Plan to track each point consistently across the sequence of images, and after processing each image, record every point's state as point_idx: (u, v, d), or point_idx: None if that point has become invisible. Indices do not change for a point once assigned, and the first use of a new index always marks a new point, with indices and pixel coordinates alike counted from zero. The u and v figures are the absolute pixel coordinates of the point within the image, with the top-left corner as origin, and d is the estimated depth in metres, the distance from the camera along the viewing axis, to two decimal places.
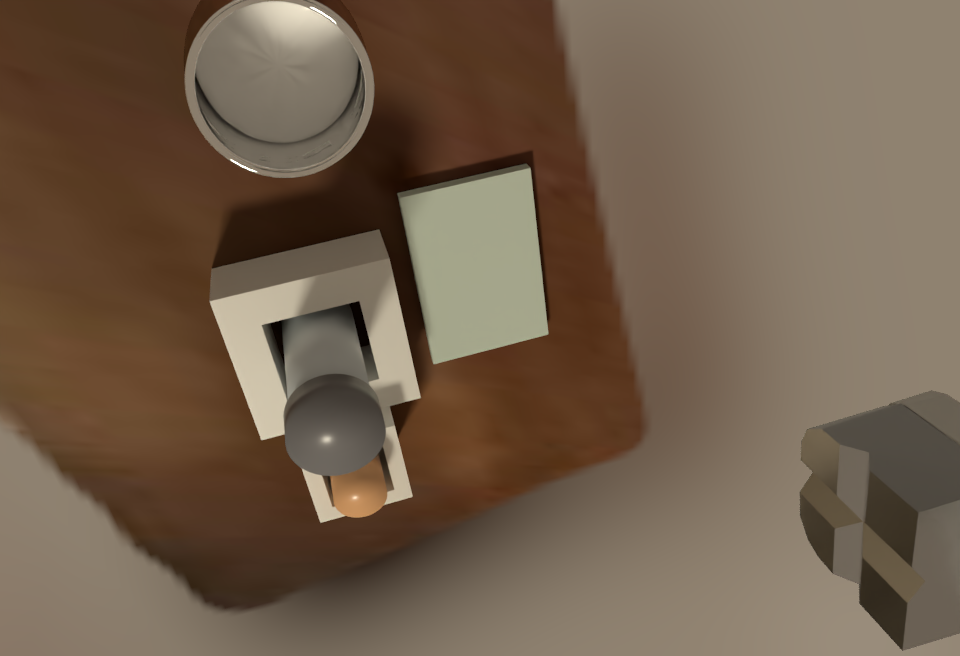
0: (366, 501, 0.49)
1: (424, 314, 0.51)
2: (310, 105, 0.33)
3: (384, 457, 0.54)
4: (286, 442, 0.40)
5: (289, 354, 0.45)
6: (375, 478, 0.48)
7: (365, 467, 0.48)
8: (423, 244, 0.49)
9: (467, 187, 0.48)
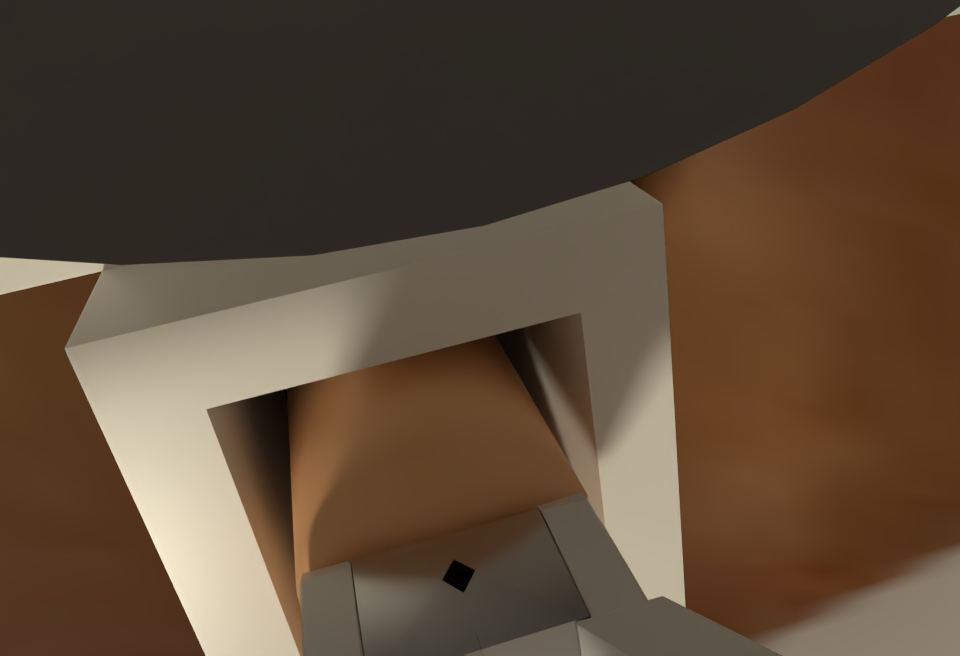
0: None
1: None
2: None
3: None
4: None
5: None
6: (542, 448, 0.08)
7: (476, 394, 0.09)
8: None
9: None
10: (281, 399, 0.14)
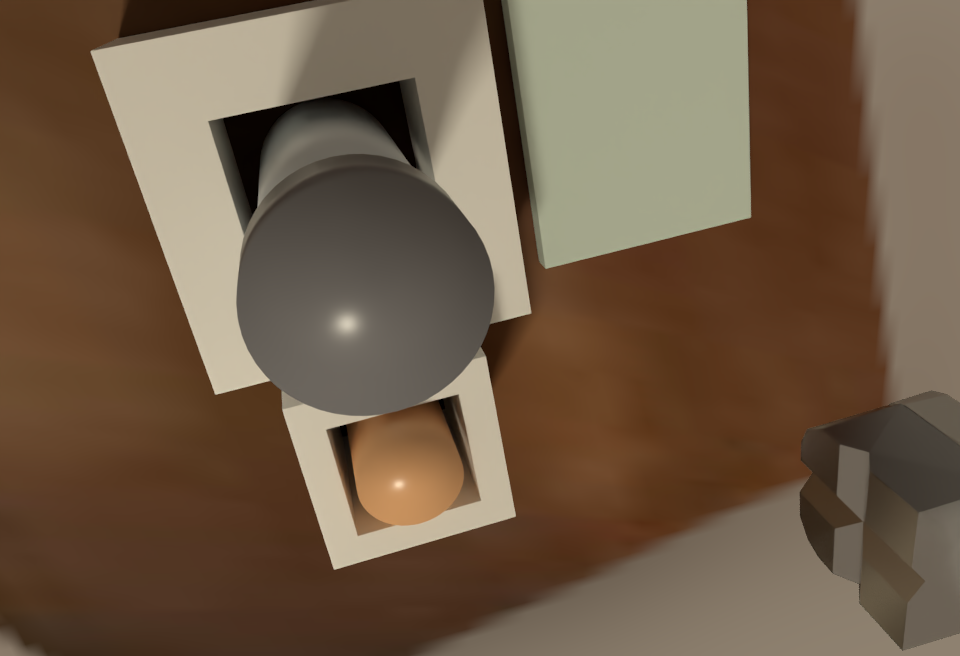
0: (422, 490, 0.24)
1: (532, 161, 0.27)
2: None
3: None
4: (239, 311, 0.15)
5: (266, 176, 0.21)
6: (441, 438, 0.24)
7: (420, 420, 0.24)
8: (535, 3, 0.25)
9: None
10: (338, 425, 0.30)
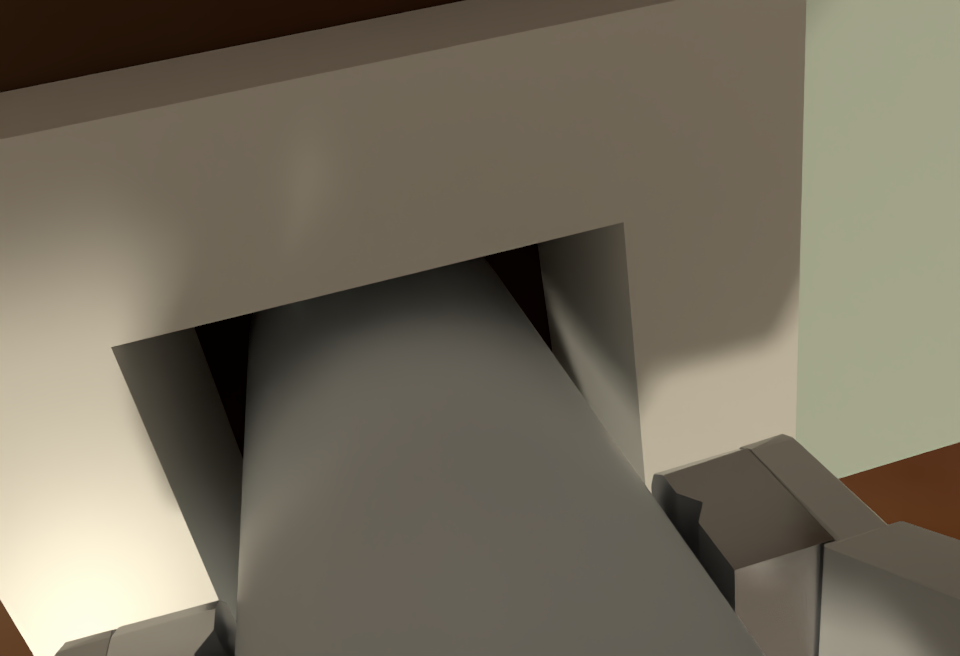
0: None
1: None
2: None
3: None
4: None
5: (259, 514, 0.08)
6: None
7: None
8: (822, 27, 0.12)
9: None
10: None
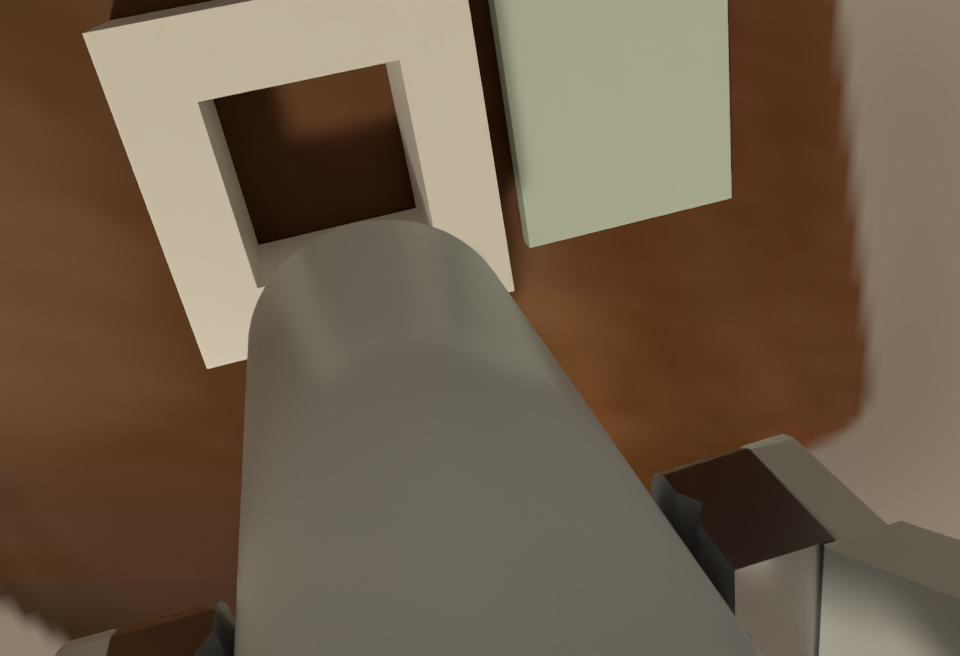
0: None
1: (516, 142, 0.28)
2: None
3: None
4: None
5: (259, 515, 0.08)
6: None
7: None
8: None
9: None
10: None
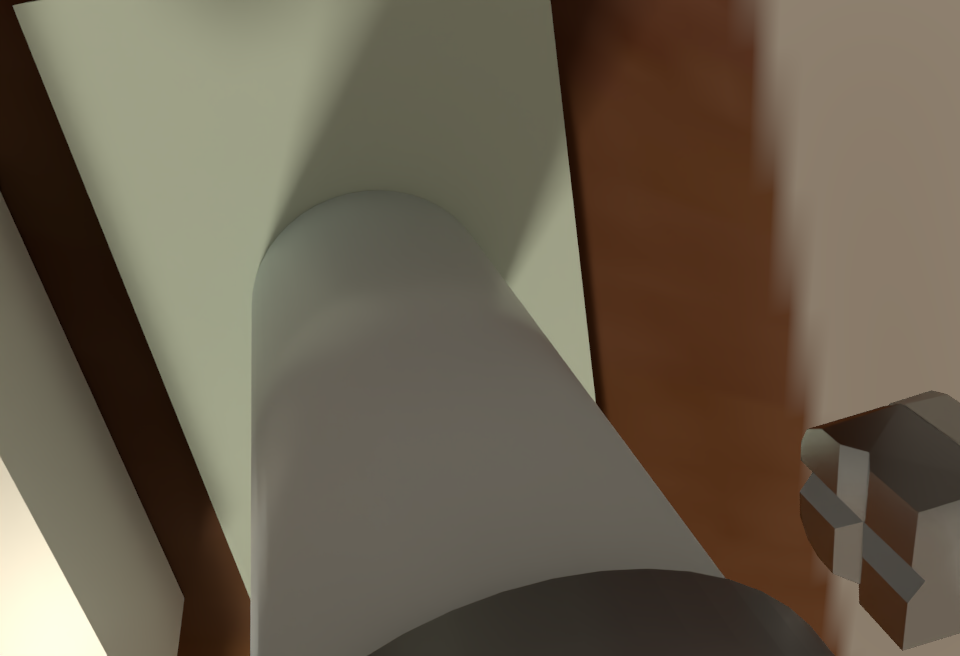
0: None
1: (196, 455, 0.15)
2: None
3: None
4: None
5: (270, 427, 0.09)
6: None
7: None
8: (151, 205, 0.13)
9: None
10: None
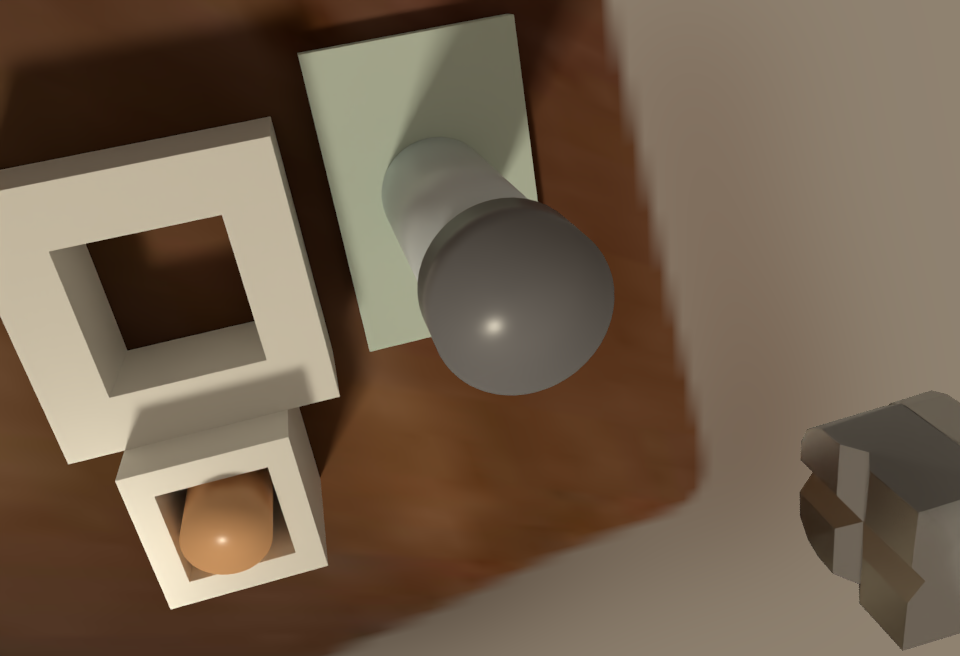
0: (237, 546, 0.29)
1: (350, 265, 0.32)
2: None
3: None
4: (432, 316, 0.21)
5: (412, 207, 0.26)
6: (250, 504, 0.29)
7: (236, 488, 0.29)
8: (342, 141, 0.30)
9: (411, 42, 0.29)
10: None
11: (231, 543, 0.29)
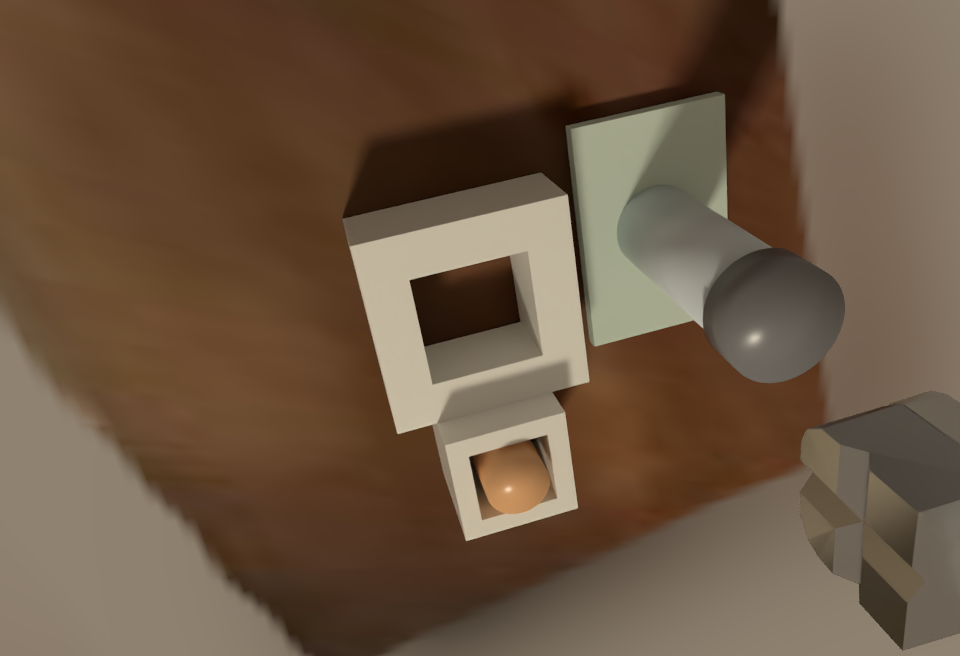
0: (524, 492, 0.40)
1: (588, 281, 0.42)
2: None
3: None
4: (729, 331, 0.31)
5: (671, 246, 0.36)
6: (538, 462, 0.39)
7: (523, 450, 0.39)
8: (594, 190, 0.40)
9: (650, 117, 0.39)
10: None
11: (521, 490, 0.39)
